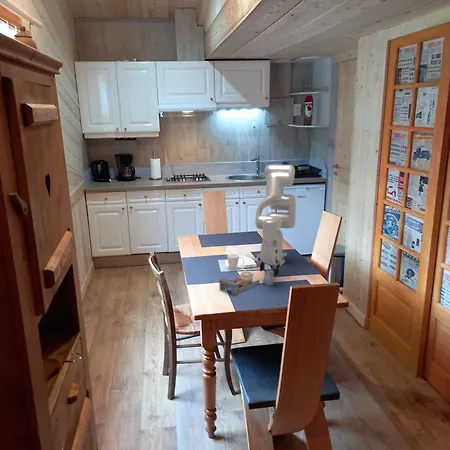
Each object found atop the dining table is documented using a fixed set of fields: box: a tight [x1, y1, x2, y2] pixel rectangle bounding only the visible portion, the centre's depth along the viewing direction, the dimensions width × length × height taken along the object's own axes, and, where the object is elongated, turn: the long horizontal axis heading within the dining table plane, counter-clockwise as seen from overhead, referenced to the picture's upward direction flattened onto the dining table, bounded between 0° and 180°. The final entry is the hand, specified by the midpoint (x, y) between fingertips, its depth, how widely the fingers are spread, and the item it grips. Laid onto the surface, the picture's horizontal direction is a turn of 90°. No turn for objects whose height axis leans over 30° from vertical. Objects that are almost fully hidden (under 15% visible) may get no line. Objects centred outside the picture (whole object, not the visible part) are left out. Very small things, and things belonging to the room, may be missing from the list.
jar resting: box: [240, 271, 254, 284], centre depth 227 cm, size 6×6×6 cm
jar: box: [264, 269, 275, 286], centre depth 227 cm, size 5×5×7 cm
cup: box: [226, 253, 245, 271], centre depth 249 cm, size 7×10×8 cm
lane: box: [219, 277, 260, 296], centre depth 224 cm, size 20×11×6 cm, turn 134°
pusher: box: [228, 275, 247, 289], centre depth 222 cm, size 10×7×4 cm
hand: (269, 272), depth 225 cm, fingers open, 9 cm apart
